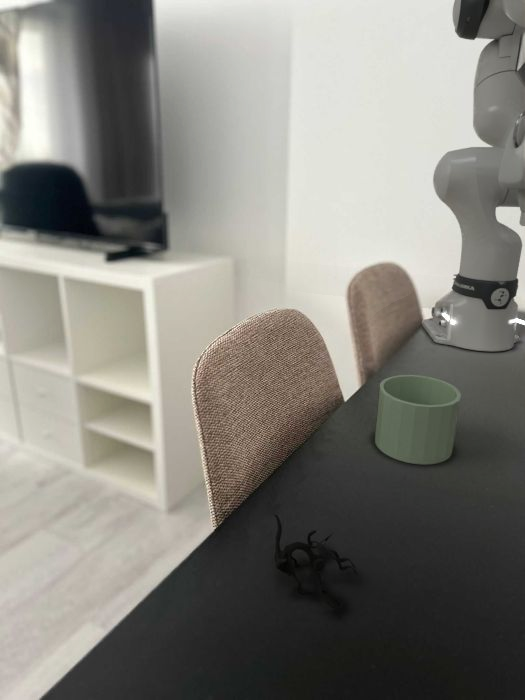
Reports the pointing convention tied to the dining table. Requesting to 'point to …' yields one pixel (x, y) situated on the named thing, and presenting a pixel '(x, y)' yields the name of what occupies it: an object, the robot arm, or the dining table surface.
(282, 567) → the creature
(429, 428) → the cup
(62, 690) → the dining table surface
